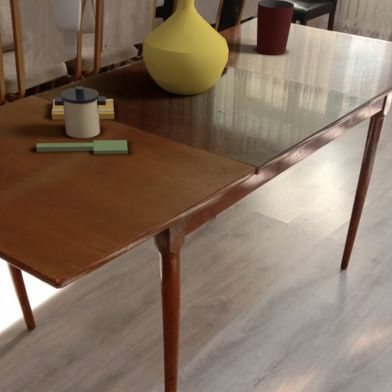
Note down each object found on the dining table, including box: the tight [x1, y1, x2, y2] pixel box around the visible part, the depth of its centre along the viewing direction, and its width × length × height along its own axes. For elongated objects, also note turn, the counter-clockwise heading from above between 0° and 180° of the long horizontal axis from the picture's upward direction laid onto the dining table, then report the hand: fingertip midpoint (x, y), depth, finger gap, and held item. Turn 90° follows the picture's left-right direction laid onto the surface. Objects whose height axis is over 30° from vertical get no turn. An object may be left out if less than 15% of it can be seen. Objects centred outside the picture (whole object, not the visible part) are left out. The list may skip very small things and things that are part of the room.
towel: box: [51, 98, 115, 120], centre depth 125 cm, size 12×8×1 cm, turn 97°
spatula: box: [35, 139, 129, 155], centre depth 112 cm, size 16×4×1 cm, turn 97°
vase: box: [142, 0, 229, 96], centre depth 133 cm, size 18×18×19 cm
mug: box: [256, 0, 295, 56], centre depth 159 cm, size 12×9×11 cm
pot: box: [54, 85, 107, 139], centre depth 116 cm, size 9×7×8 cm
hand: (72, 46), depth 108 cm, fingers open, 8 cm apart
